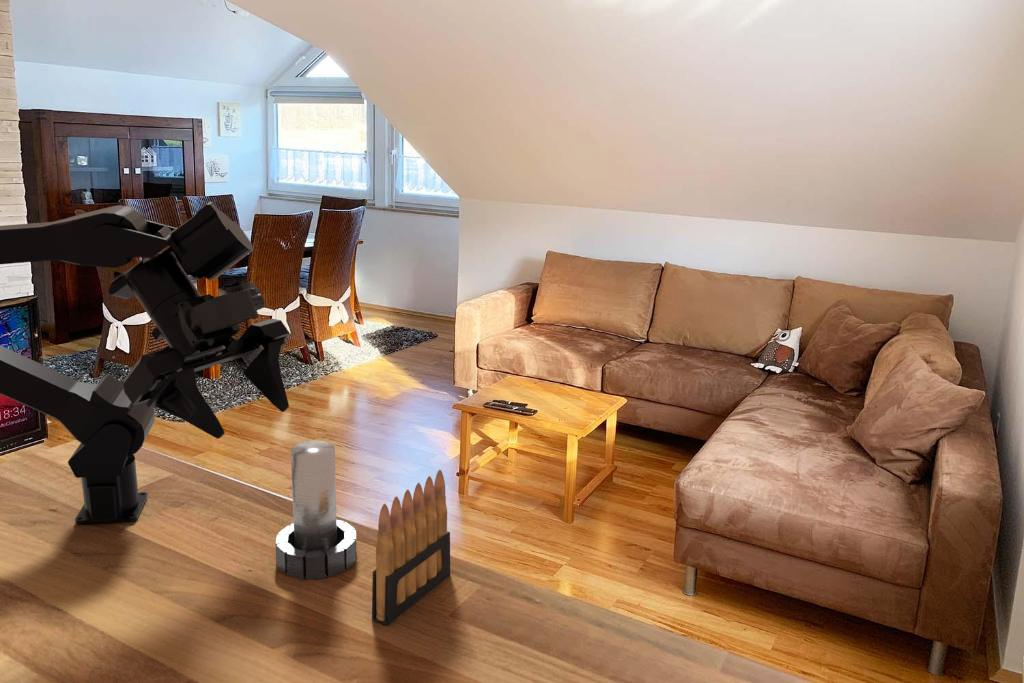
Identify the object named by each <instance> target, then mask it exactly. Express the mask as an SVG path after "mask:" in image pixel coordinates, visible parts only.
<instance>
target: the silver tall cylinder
mask: <svg viewBox="0 0 1024 683" xmlns="http://www.w3.org/2000/svg"><path fill="white" fill-rule="evenodd" d="M290 464H291V465H290V466H291V467H290V468H291V490H292V493H291V494H292V516H293V517H292V518H293V523H294V544H295V548H296V549H300V550H304V551H321V550H326V549H329V548H332V547H334V546H337V520H338V519H337V486H336V485H337V483H336V482H337V480H336V478H337V477H336V448H335V445H334V444H333V443H331V442H329V441H325V440H308V441H302V442H298V443H297V444H295V445H293V446H292V447H291V449H290Z"/></svg>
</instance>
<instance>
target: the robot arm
mask: <svg viewBox="0 0 1024 683" xmlns="http://www.w3.org/2000/svg"><path fill="white" fill-rule="evenodd" d="M252 244H253V243H252V242H251V241H250V238H248V236H247V234H246V233H245V232H244V231H243V229H242V228H241V227H240V226H239V225H238V223H237V222H236V221H235V220H234V221H233V220H232V219H231V218H230V217H229V216H228V215H227V214H226V213H225V212H223V211H222V210H220V209H219V208H218V207H217V206H216V205H215V203H213V201H209V202H207V203H206V204H204V206H202V207H201V208H199V209H198V210H197V212H196V213H195V214H194V215H193V216H191V218H189V219H188V220H187V221H185V222H183V223H182V224H181V225H180V226H178V227H174V226H170V225H167V224H162V223H160V222H155V221H151V220H148V219H145V217H144V216H143V215H142V213H140V212H138V211H137V210H135V208H133V207H130V206H127V205H112V206H109V207H105V208H101V209H97V210H92V211H89V212H85V213H81V214H77V215H74V216H70V217H67V218H63V219H58V220H55V221H46V222H32V223H22V224H21V223H19V224H7V225H6V224H5V225H0V265H9V264H23V263H34V262H50V261H51V262H64V263H68V264H73V265H78V266H83V267H97V268H98V267H99V268H114V269H115V268H119V267H124V266H125V265H127V264H129V263H131V262H132V261H133V260H134V259H135V258H142V259H141V260H140V261H138V262H137V263H136V264H134V265H133V266H132V267H131V268H129V269H128V270H126V271H119V270H116V271H114V272H113V279H112V281H111V282H110V284H109V288H108V294H109V295H110V296H114V297H117V298H122V299H126V300H129V299H131V298H132V297H133V296H135V298H136V299H137V301H138V302H139V303H140V305H141V307H142V308H143V309H144V311H145V312H146V314H147V315H148V317H149V318H150V320H151V321H152V323H153V324H154V326H155V328H153V330H152V331H151V332H150V334H151V336H152V337H153V338H154V340H155V341H159V340H164V341H165V342H166V343H167V345H168V346H169V347H167V348H163V349H159V350H155V351H152V352H149V353H146V354H145V353H144V354H142V355H141V356H140V357H139V359H138V360H137V362H136V363H135V364H134V366H133V367H132V368H131V370H130V371H128V373H127V375H126V376H125V378H124V380H123V382H122V381H120V380H119V379H118V378H116V377H115V376H112V375H109V374H105V375H104V377H102V379H101V380H100V382H98V383H91V382H82V381H80V380H77V379H74V378H72V377H69V376H68V375H65V374H63V373H61V372H59V371H57V370H55V369H53V368H50V367H49V366H46V365H44V364H42V363H39V362H37V360H36V361H35V360H33V359H31V358H29V357H26V356H24V355H22V354H20V353H19V352H16V351H14V350H11V349H10V348H7V347H5V346H3V345H1V344H0V395H1V396H3V397H5V398H6V397H7V398H9V399H10V400H12V401H15V402H18V403H20V404H22V405H23V406H26V407H29V408H31V409H33V410H34V411H37V412H40V413H42V414H44V415H46V416H49V417H52V418H53V419H55V420H56V421H58V422H59V423H60V424H61V425H62V426H63V427H64V428H65V430H66V431H68V432H69V433H70V435H72V437H73V438H74V439H75V440H76V441H77V442H79V445H78V447H77V448H76V449H75V451H74V452H73V454H72V455H71V456H70V457H69V459H68V461H67V465H68V466H69V467H70V469H71V471H72V473H73V475H74V477H75V478H78V479H80V478H81V486H82V488H81V489H82V495H83V496H82V497H83V505H82V507H81V509H80V511H79V512H78V513H77V515H76V516H75V518H74V522H75V524H77V525H84V524H105V523H120V522H121V523H122V522H123V523H125V522H134V521H136V520H138V518H139V516H140V514H141V512H142V510H143V507H144V506H145V504H146V501H147V499H148V496H149V495H148V492H146V491H145V492H143V491H139V488H138V476H137V468H136V467H137V466H136V456H135V454H137V453H138V452H139V451H140V449H141V448H142V447H143V445H144V443H145V442H146V439H147V437H148V435H149V433H150V432H151V430H152V428H153V425H154V423H155V420H156V419H155V418H156V417H155V416H156V415H155V413H156V412H155V410H154V408H157V409H159V410H162V411H164V412H165V413H168V414H170V415H172V416H174V417H177V418H178V419H181V420H182V421H185V422H186V423H188V424H190V425H192V426H194V427H195V428H197V429H199V430H200V431H203V432H205V433H206V434H208V435H210V436H211V437H213V438H215V439H222V437H223V436H224V435H225V430H224V428H223V426H222V423H220V420H219V419H218V417H217V416H216V413H215V412H214V410H213V409H212V408H211V406H210V404H209V403H208V402H207V400H206V399H205V397H204V395H203V394H202V392H201V391H200V389H199V388H198V385H197V379H196V373H197V372H199V371H202V370H205V369H207V368H211V367H214V366H217V365H221V364H223V363H226V362H229V361H233V360H235V362H236V363H237V365H239V366H242V367H243V368H245V369H244V370H243V371H242V374H243V375H244V376H245V378H247V380H249V381H250V383H251V384H253V385H254V387H256V389H257V390H258V391H259V392H260V393H261V394H262V395H263V396H264V397H265V398H266V399H267V400H268V401H269V402H270V403H271V404H272V405H273V406H274V407H275V408H276V409H278V410H279V411H280V412H282V413H285V412H286V411H287V410H288V409H289V406H290V405H289V401H288V396H287V393H286V388H285V385H284V382H283V377H282V373H281V367H280V354H281V351H282V350H283V348H284V347H285V346H286V340H288V338H289V337H290V336H291V333H290V331H289V329H288V328H287V327H286V325H285V324H284V323H283V322H282V320H280V319H275V318H270V319H266V320H263V321H259V322H255V323H252V324H250V325H249V326H248V327H247V329H246V330H244V332H243V333H242V334H241V335H240V337H239V338H238V339H235V340H232V339H231V338H232V336H236V335H237V334H238V333H239V331H240V330H241V327H240V326H239V325H240V324H241V323H244V322H247V321H249V320H256V319H258V318H260V315H259V313H258V311H259V310H262V309H263V308H264V307H265V303H266V302H265V300H264V297H263V295H262V293H261V290H260V289H259V288H258V287H257V285H255V283H254V282H253V281H246V282H243V283H242V282H241V283H240V284H238V286H232V287H231V292H229V293H225V294H221V295H217V296H214V295H212V294H210V293H209V294H204V295H202V294H201V292H200V291H199V289H197V287H196V286H195V284H194V282H192V280H191V279H190V277H189V275H190V276H192V278H194V279H195V280H202V279H204V278H205V279H207V280H209V281H211V282H212V281H214V280H215V279H217V278H219V277H220V276H221V275H222V274H223V273H226V271H227V270H229V269H230V268H233V266H235V264H237V263H238V262H239V261H241V260H242V259H243V258H245V257H246V256H247V255H250V254H251V252H253V251H254V247H253V245H252ZM167 247H168V248H167ZM165 248H167V249H165ZM163 250H164V251H163ZM161 251H162V252H161ZM160 252H161V253H160ZM159 253H160V254H159ZM148 257H149V258H148ZM150 257H153V258H150ZM185 271H186V272H185ZM188 274H189V275H188ZM195 372H196V373H195Z"/></svg>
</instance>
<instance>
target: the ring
mask: <svg viewBox="0 0 1024 683" xmlns="http://www.w3.org/2000/svg"><path fill="white" fill-rule="evenodd" d="M275 560H276V567H277V568H278V569H279V570H280V571H282V573H284V575H287V576H288V577H293V578H297V579H302V580H304V579H306V580H318V579H326V577H327V578H331V577H334V576H336V575H339V574H342V573H344V572H345V571H347V570H349V569H350V568H351V567H352V566H353V565H354V564H355V563H357V562H356V561H357V530H356V528H354V526H352V525H351V524H350V523H348V522H347V521H344V520H339V519H337V546H334V547H332V548H329V549H326V550H321V551H304V550H300V549H296V548H295V544H294V522H293V523H290V525H287V526H285V527H284V528H283V529H281V530H280V531H278V533H277V534H276V538H275Z"/></svg>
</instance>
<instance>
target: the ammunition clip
mask: <svg viewBox="0 0 1024 683" xmlns="http://www.w3.org/2000/svg"><path fill="white" fill-rule="evenodd" d="M377 527H378V529H377V531H378V532H377V541H376V545H375V546H376V547H375V567H376V568H375V569H374V570H373V571H372V583H371V584H372V587H371V588H372V590H371V592H372V593H371V597H372V598H371V602H372V603H371V620H372V621H374V622H377V623H380V624H381V625H384V626H390V625H391V624H393V623H394V621H397V619H399V618H400V617H401V616H402V615H403V614H405V613H406V612H407V611H408V610H409V609H411V608H412V607H413V606H414V605H416V604H417V603H419V601H420V600H422V599H423V598H425V597H426V596H427V595H428V594H429V593H430V592H432V591H433V590H434V589H435V588H437V587H438V586H439V585H441V584H442V583H443V582H444V581H445V580H447V578H450V576H451V532H450V531H448V507H447V496H446V482H445V478H444V474H443V471H442V469H438V471H437V472H436V475H435V479H434V481H433V479H432V477H431V476H430V475H428V477H427V478H426V481H425V483H424V487H422V485H421V483H420V482H417V483H416V485H415V487H414V491H413V495H412V493H411V492H410V490H409V489H406V490H405V492H404V494H403V498H402V503H401V501H400V499H399V497H398V496H394V498H393V501H392V504H391V508H390V510H389V507H388V505H387V504H386V503H383V504H382V506H381V509H380V512H379V516H378V524H377Z"/></svg>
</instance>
